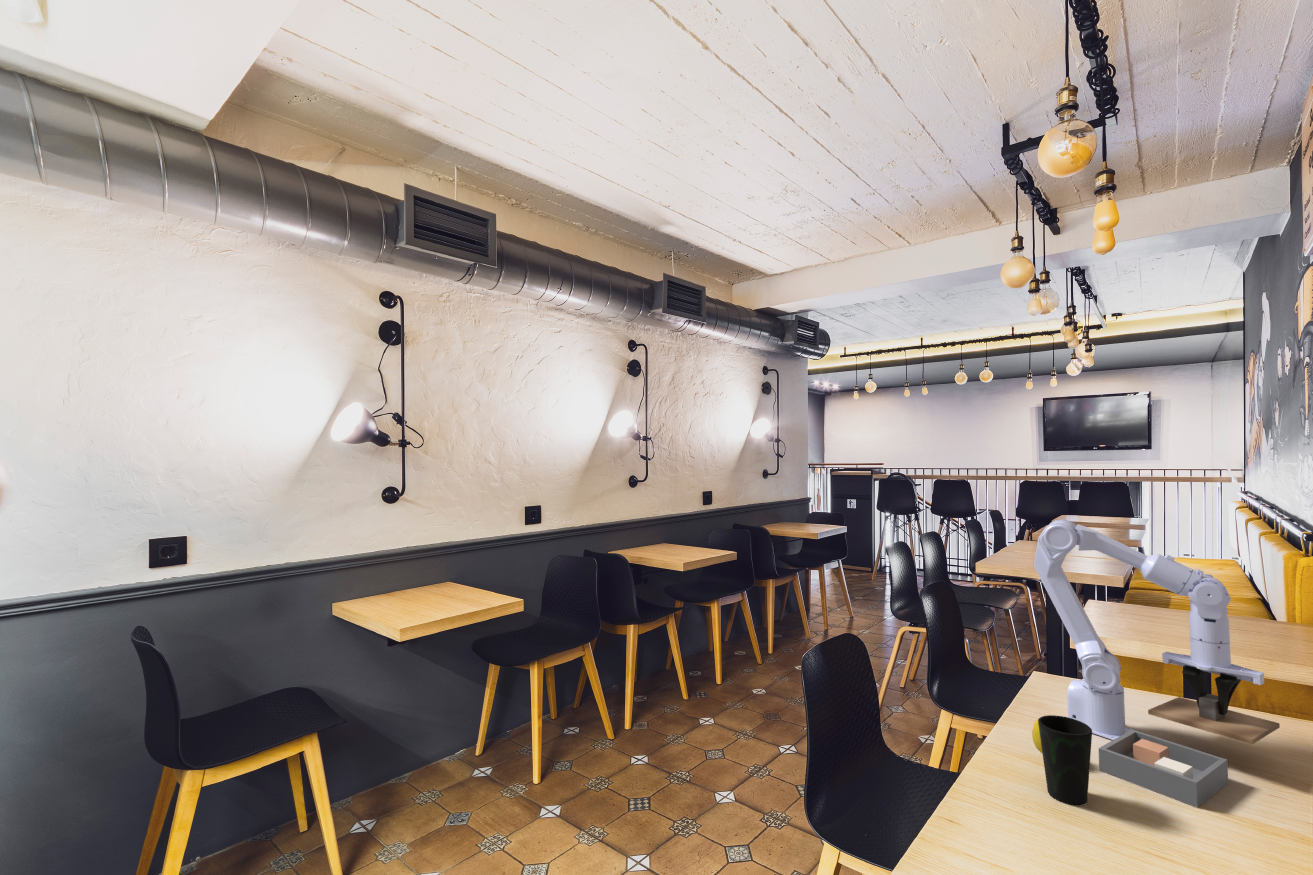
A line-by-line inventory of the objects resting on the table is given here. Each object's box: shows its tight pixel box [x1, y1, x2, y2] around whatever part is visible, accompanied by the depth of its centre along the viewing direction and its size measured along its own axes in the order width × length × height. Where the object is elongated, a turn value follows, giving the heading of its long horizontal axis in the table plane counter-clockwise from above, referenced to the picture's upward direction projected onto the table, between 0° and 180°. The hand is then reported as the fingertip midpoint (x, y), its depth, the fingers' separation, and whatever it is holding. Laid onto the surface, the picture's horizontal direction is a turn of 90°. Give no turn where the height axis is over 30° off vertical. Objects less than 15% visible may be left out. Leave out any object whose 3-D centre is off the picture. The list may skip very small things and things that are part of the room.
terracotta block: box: [1133, 739, 1169, 766], centre depth 112 cm, size 4×4×3 cm
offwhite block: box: [1154, 757, 1193, 779], centre depth 105 cm, size 4×4×3 cm
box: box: [1098, 729, 1229, 808], centre depth 108 cm, size 14×14×4 cm
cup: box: [1037, 714, 1093, 807], centre depth 103 cm, size 8×8×12 cm
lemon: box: [1031, 719, 1043, 755], centre depth 115 cm, size 6×6×8 cm
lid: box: [1147, 693, 1281, 745], centre depth 116 cm, size 15×15×4 cm
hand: (1212, 710), depth 116 cm, fingers closed on lid, 2 cm apart
